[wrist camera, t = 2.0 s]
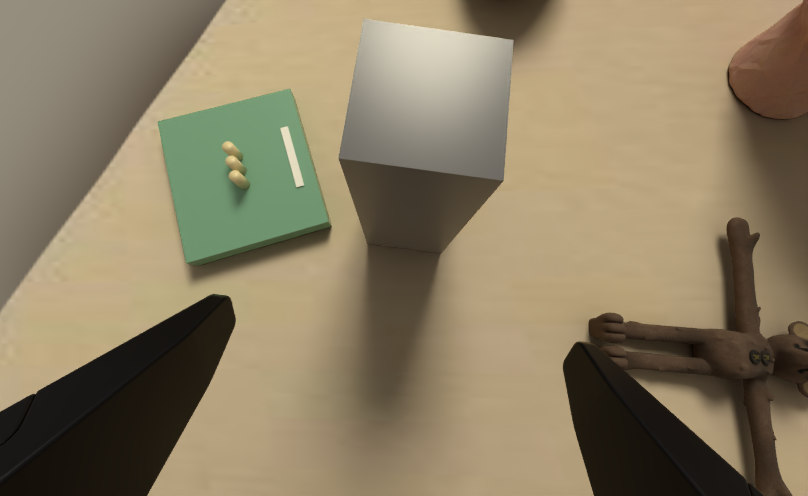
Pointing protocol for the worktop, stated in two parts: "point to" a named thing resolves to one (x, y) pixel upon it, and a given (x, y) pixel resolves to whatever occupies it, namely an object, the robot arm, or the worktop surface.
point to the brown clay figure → (727, 354)
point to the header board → (241, 177)
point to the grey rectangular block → (424, 131)
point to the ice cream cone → (775, 68)
